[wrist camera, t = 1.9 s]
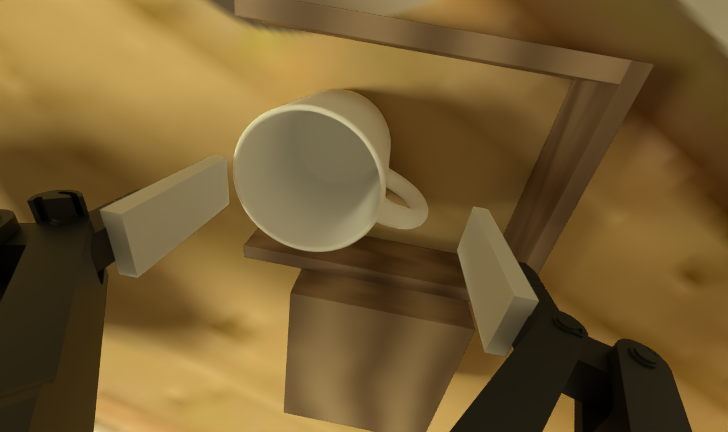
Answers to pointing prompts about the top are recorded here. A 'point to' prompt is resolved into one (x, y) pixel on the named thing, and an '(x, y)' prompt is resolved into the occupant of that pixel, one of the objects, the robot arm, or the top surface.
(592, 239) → the top surface
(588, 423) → the robot arm
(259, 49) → the top surface
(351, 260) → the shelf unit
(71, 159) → the top surface
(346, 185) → the mug
